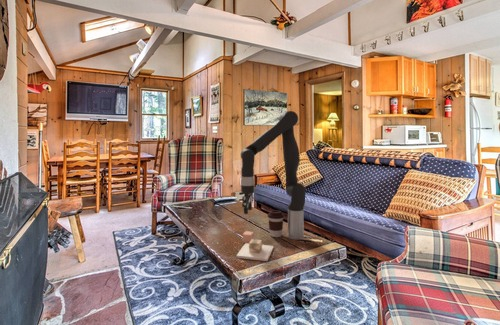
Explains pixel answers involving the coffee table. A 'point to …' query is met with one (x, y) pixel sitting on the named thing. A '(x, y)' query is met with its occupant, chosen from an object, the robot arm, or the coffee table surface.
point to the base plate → (261, 256)
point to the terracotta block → (247, 236)
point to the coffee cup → (275, 223)
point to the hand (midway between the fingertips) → (247, 211)
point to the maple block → (255, 246)
